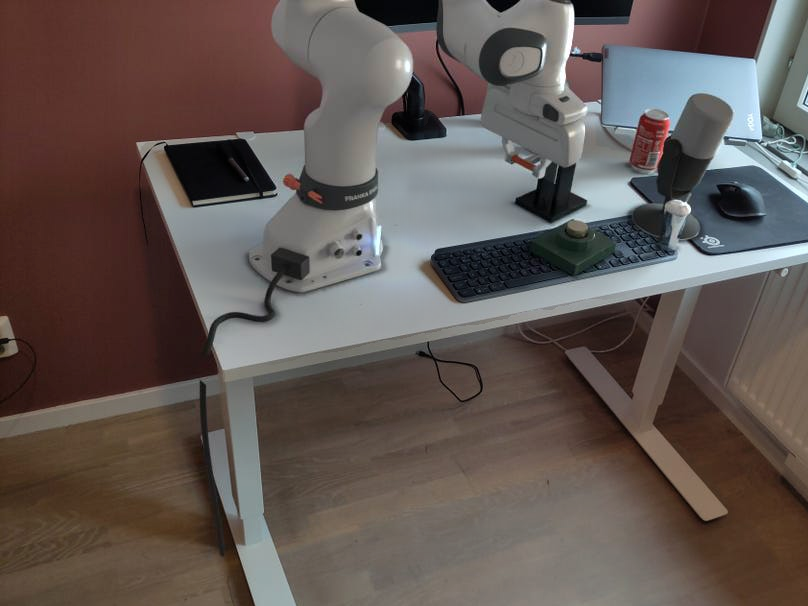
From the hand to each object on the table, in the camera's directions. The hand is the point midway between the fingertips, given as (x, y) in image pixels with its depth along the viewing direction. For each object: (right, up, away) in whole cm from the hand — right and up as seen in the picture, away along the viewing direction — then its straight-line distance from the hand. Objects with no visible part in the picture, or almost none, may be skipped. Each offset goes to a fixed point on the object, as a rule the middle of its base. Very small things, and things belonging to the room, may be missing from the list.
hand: (524, 169), depth 146 cm
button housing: (+8, -14, +1) cm, 17 cm away
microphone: (+28, -8, +13) cm, 31 cm away
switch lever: (+4, +2, +3) cm, 5 cm away
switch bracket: (+6, -4, +13) cm, 15 cm away
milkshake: (+27, -13, +6) cm, 30 cm away
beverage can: (+27, +7, +30) cm, 41 cm away
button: (+9, -12, -2) cm, 15 cm away
